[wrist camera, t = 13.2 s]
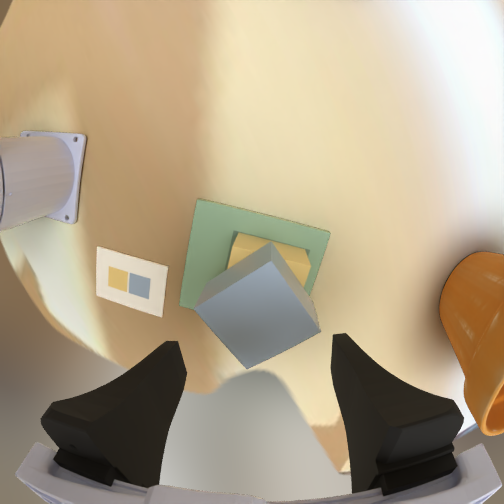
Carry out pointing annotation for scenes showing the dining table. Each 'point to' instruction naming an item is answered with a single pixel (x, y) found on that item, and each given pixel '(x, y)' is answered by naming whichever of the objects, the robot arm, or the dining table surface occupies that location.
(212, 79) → the dining table surface
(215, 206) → the plate
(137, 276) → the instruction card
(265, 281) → the brick
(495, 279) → the flower pot
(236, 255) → the brick
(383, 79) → the dining table surface
